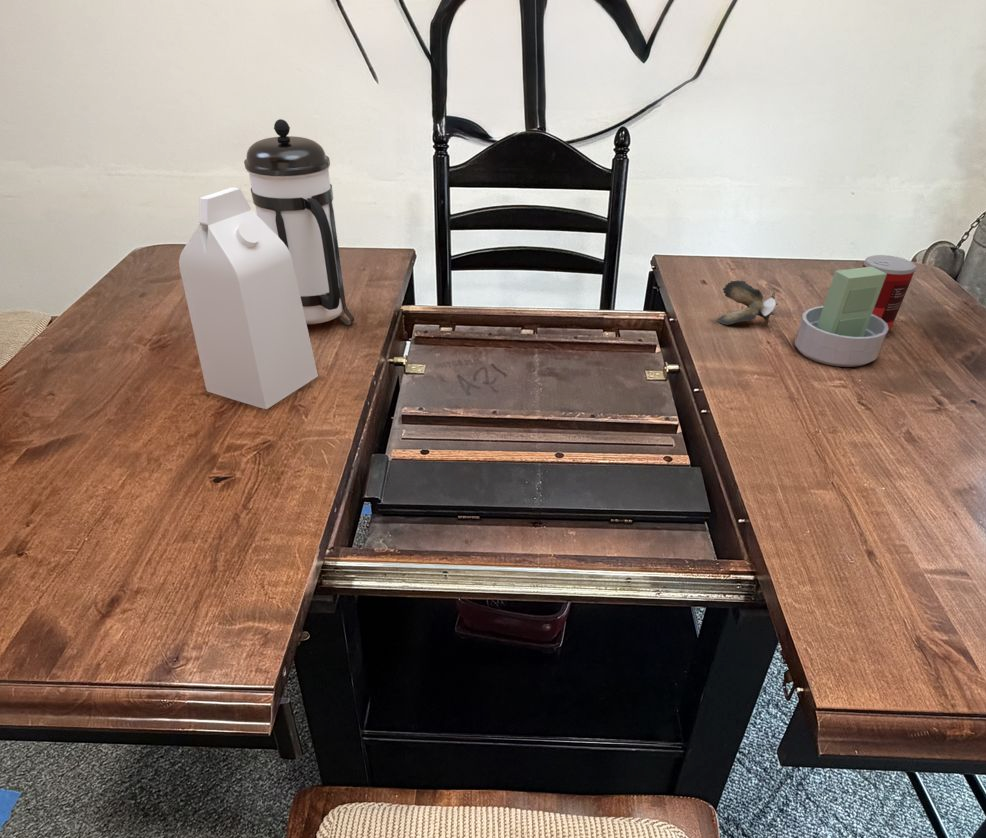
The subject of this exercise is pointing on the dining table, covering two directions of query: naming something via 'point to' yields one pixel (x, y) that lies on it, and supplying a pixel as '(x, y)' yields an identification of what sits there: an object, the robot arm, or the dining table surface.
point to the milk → (244, 305)
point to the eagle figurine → (747, 303)
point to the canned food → (891, 284)
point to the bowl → (839, 341)
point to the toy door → (851, 301)
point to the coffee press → (301, 216)
